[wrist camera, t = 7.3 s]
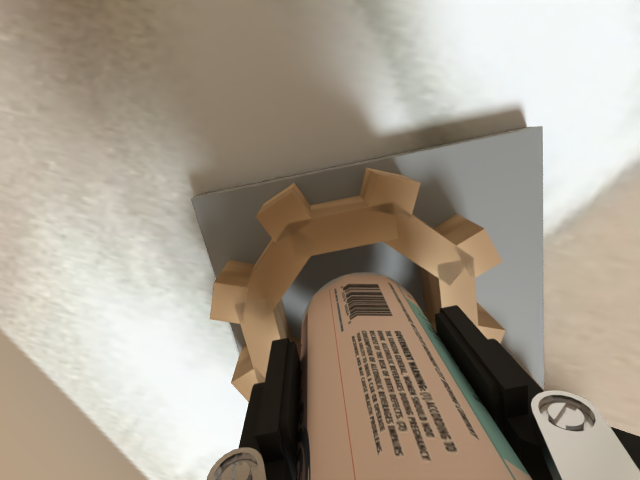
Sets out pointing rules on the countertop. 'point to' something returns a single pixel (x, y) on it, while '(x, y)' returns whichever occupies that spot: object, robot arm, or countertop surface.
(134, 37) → the countertop surface
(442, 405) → the beer can
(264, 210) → the oak gear
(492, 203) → the gear board
